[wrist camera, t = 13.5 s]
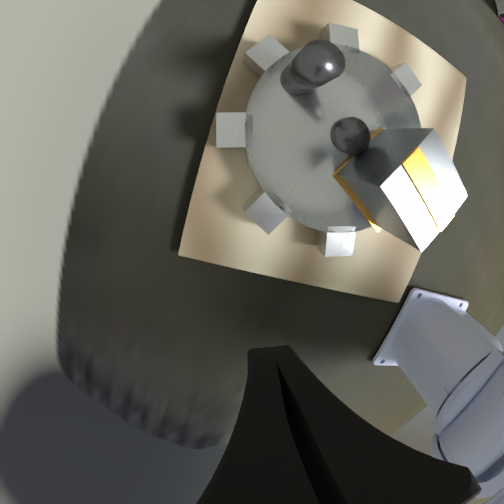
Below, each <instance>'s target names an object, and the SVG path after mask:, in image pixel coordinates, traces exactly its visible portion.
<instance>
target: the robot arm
mask: <svg viewBox="0 0 504 504" xmlns="http://www.w3.org/2000/svg"><path fill="white" fill-rule="evenodd" d="M418 294H419V295H418ZM417 295H418V296H417ZM467 307H468V302H467V301H466V300H462V299H458V298H455V297H451V296H447V295H443V294H439V293H435V292H431V291H427V290H423V289H419V288H413V289H412V290H411V291H410V292H409V294H408V297H407V299H406V301H405V303H404V305H403V307H402V309H401V310H400V312H399V314H398V316H397V318H396V320H395V322H394V324H393V326H392V327H391V329H390V331H389V333H388V335H387V336H386V338H385V340H384V342H383V343H382V345H381V347H380V348H379V350H378V352H377V353H376V355H375V357H374V358H373V360H372V362H373V363H374V365H391V366H399V367H400V368H401V369H402V371H403V372H404V373H405V375H406V376H407V378H408V379H409V380H410V382H411V383H412V384H413V386H414V387H415V389H416V390H417V391H418V393H419V394H420V396H421V397H422V398H423V400H424V401H425V403H426V404H427V406H428V407H429V408H430V410H431V411H432V413H433V414H434V416H435V417H436V419H435V420H434V421H433V422H432V423H431V426H432V427H433V429H434V430H435V431H436V433H435V434H434V435H433V437H432V440H431V452H432V456H429V455H426V454H424V453H421V452H419V451H417V450H414V449H412V448H411V447H409V446H407V445H405V444H403V443H401V442H399V441H397V440H395V439H393V438H391V437H390V436H388V435H386V434H385V433H383V432H382V431H380V430H378V429H377V428H375V427H374V426H372V425H371V424H369V423H368V422H367V421H365V420H364V419H362V418H361V417H360V416H358V415H357V414H356V413H355V412H353V411H352V410H351V409H350V408H348V407H347V406H346V405H345V404H344V403H343V402H342V401H340V400H339V399H338V398H337V397H336V396H335V395H334V394H333V393H332V392H331V391H330V390H329V389H328V388H327V387H326V386H325V385H324V384H323V383H322V382H321V381H320V380H319V379H318V378H317V377H316V376H315V375H314V374H313V373H312V372H311V371H310V369H309V368H308V367H307V366H306V365H305V364H304V362H303V361H302V360H301V359H300V358H299V356H298V355H297V354H296V353H295V351H294V350H293V349H292V348H291V347H290V346H289V345H286V346H276V347H266V348H254V349H250V350H249V351H248V376H247V382H246V387H245V392H244V397H243V401H242V405H241V408H240V411H239V415H238V418H237V422H236V425H235V427H234V430H233V433H232V436H231V438H230V441H229V443H228V445H227V448H226V450H225V453H224V455H223V457H222V459H221V461H220V463H219V465H218V467H217V469H216V471H215V473H214V475H213V477H212V479H211V481H210V482H209V484H208V486H207V488H206V489H205V491H204V492H203V494H202V496H201V497H200V499H199V501H198V502H197V504H466V503H467V502H468V501H470V500H471V499H473V498H474V497H476V498H484V497H490V496H493V497H491V498H490V499H489V500H488V501H487V502H485V503H484V504H504V352H503V349H502V347H501V344H500V342H499V341H498V340H497V339H496V338H495V337H494V336H493V335H492V334H491V333H490V332H489V331H487V330H486V329H485V328H484V327H483V326H482V325H480V324H479V323H478V322H477V321H476V320H475V319H473V318H472V317H471V316H470V315H469V314H467V313H466V312H465V311H466V309H467Z"/></svg>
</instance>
